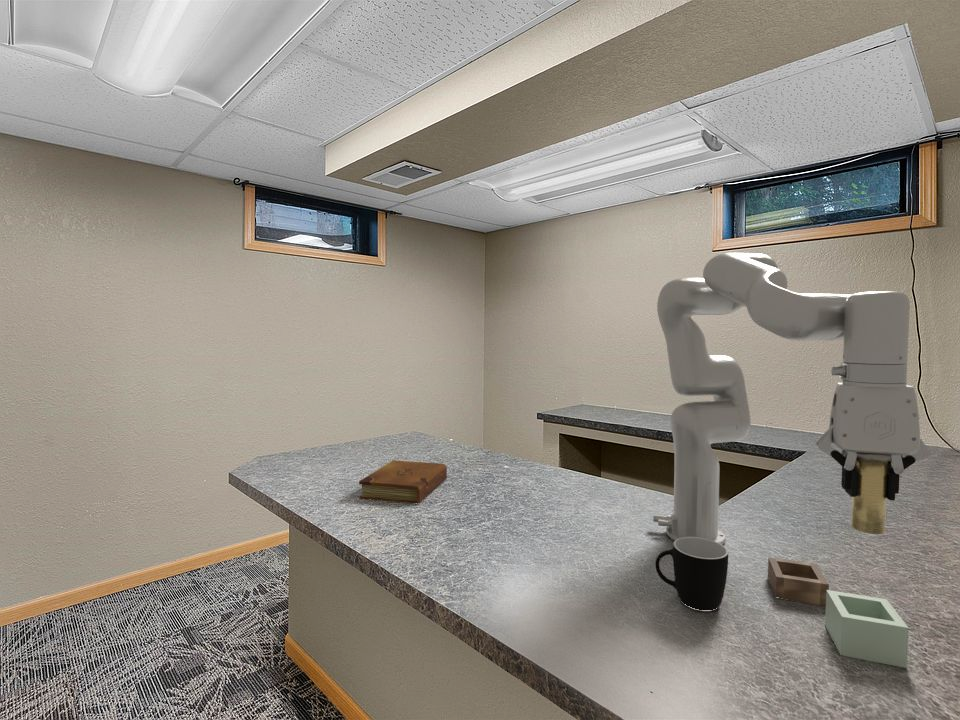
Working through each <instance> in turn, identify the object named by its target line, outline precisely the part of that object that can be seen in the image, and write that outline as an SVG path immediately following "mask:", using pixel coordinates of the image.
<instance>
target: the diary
mask: <svg viewBox="0 0 960 720" xmlns="http://www.w3.org/2000/svg"><path fill="white" fill-rule="evenodd" d="M447 467H448V466H447V465H446V464H445V463H439V462H438V463H436V462H424V461H423V462H421V461H409V460H396V459H395V460H391V461H390V462H389V463H386V464H385V465H383V466H382V467H380V468H378V469H377V470H375V471H374V472H372V473H370V474H369V475H367V476H365V477H364V478H362V479H360V480H359V481H358V485H361V489H362V490H361V491H362V493H361V494H362V495H360V496H359V498H360V500H368V499H371V501H379V500H382V502H389V501H395V502H394V503H400V502H406V503H405V504H411V503H419V504H420V503H422V500H423V501H424V500H425V499H426V498H427V497H428V496H429V495H430V494H432V492H433V490H434V491H435V490H436V489H437V488H438V487H440V486H441V485H442V483H444V480H445V481H446V480H447V478H448V474H447V473H448V472H447V471H448V469H447Z"/></svg>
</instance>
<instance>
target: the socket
mask: <svg viewBox="0 0 960 720" xmlns="http://www.w3.org/2000/svg"><path fill="white" fill-rule="evenodd" d="M824 618H825V620H824V626H825V627H826V629H827V632H828V634H829V635H830V638H831V640H832V642H833V641H834V642H833V644H834V645H836V646H835V648H836V647H837V648H836V650H837V649H838V650H837V652H838V651H839V652H838V654H839V653H840V654H839V656H842V655H843V656H842V657H847V658H851V659H852V658H853V659H858V660H862V661H863V660H864V661H868V662H874V663H879V664H883V665H884V664H885V665H890V666H895V667H900V668H906V669H907V666H908V665H907V664H908V649H909V646H908V645H909V632H910V630H909V629H910V628H909V626H908V625H907V624H906V622H905V621H904V620H903V618H901V616H900V615H899V614H898V612H897V611H896V610H895V608H894V607H893V605H892V604H891V603H890V602H889V600H888V599H886V598H881V597H875V596H869V595H861V594H854V593H849V592H842V591H836V590H830V589H829V590H826V606H825V617H824Z"/></svg>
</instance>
